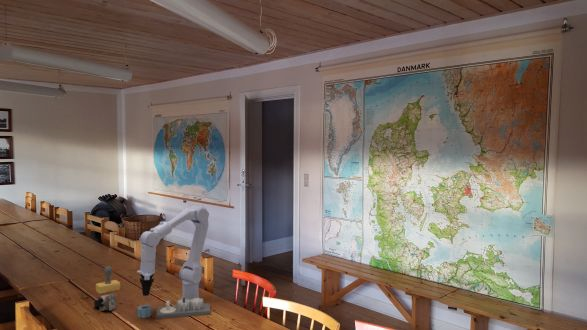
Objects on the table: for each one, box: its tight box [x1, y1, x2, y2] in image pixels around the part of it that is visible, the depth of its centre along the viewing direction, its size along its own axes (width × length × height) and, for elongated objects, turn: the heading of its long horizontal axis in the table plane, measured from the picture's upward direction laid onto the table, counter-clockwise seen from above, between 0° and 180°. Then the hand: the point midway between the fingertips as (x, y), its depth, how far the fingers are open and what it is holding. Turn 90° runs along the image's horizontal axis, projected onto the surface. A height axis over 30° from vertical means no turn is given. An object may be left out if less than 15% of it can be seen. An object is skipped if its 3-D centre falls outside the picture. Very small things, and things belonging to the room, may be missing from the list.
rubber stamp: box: [95, 266, 121, 295], centre depth 209 cm, size 10×6×12 cm, turn 133°
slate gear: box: [136, 304, 153, 319], centre depth 180 cm, size 6×6×4 cm
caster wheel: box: [93, 292, 117, 312], centre depth 187 cm, size 7×11×10 cm
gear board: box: [155, 297, 211, 320], centre depth 184 cm, size 9×22×7 cm, turn 105°
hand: (145, 292), depth 179 cm, fingers open, 7 cm apart
